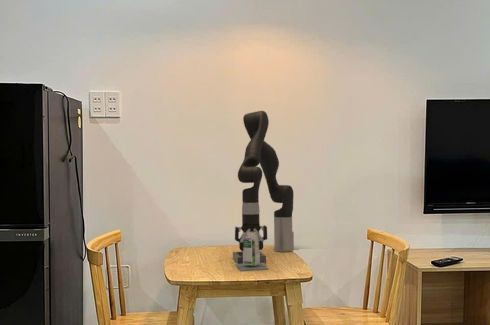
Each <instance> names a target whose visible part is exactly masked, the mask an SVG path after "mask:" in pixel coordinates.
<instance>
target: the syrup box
mask: <svg viewBox="0 0 490 325" xmlns="http://www.w3.org/2000/svg"><path fill="white" fill-rule="evenodd" d="M258 233H259V234H260V231H259V232H258ZM242 234H243V235H244V234H245V233H244V232H243V231H242ZM246 234H247V236H246V238H245V239H244V240H243V251H242V252H243V265H251V266H255V265H257V264H259V263H260V251H261V250H260V239H259V238H258V236H257V232H256V231H250V232H247V233H246ZM260 235H261V234H260Z"/></svg>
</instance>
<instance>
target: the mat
mask: <svg viewBox="0 0 490 325" xmlns="http://www.w3.org/2000/svg"><path fill="white" fill-rule="evenodd" d="M234 265H235V266H236V268H237V269H238V271H240V272H249V271H251V272H253V271H265V270H269V268H268V266H266V265H265V263H262V262H261V263H259V264H257V265H255V266H251V265H243V264H237V263H235V264H234Z"/></svg>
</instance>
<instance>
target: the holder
mask: <svg viewBox="0 0 490 325" xmlns="http://www.w3.org/2000/svg"><path fill="white" fill-rule="evenodd" d="M232 259H233V260H234V261H235V264H243V251H232ZM261 262H262V263H263V264H265V263H266V264H267V255H266V254H264V253H263V252H262V250H260V263H261Z"/></svg>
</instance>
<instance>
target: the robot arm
mask: <svg viewBox="0 0 490 325" xmlns="http://www.w3.org/2000/svg"><path fill="white" fill-rule="evenodd" d="M242 121H243V125H244V127H245V131H246V133H247V135H248V137H249V139H250V140H249V142H248V143H247V146H246V147H245V151H244V159H243V161H242V163H241V164H240V166H239V169H238V171H237V179H238V181H239V182H240V183H243V184H253V185H252V186H251V187H249V188H248V187H247V188H244V189H242V193H241V195H242V196H241V199H242V200H241V202H242V203H241V217H242V219H241V222H242V223H241V226H234V227H235V228H234V240H235V241H236V242H238V248H239V251H240V252H243V240H244V239H245V238H246V236H247V234H246V233H247V232H250V231H256V232H257V236H258V238H259V239H260V251H262V250H263V249H264V241H265V240H268V227H267V226H266V225H265V224H263V225H261V223H260V222H261V221H260V219H261V218H260V212H261V211H260V210H261V209H260V204H259V193H260V185H261V182H262V179H263V176H264V179H265V182H266V186H267V189H268V190H267V191H268V193H269V196H270V199H271V201H272V202H273V203H277V204H281V207H280V208H279V209H277V210H274V212H273V226H274V227H273V233H274V234H273V236H274V237H273V238H274V240H273V242H274V244H273V245H274V247H273V248H274V249H273V250H274V251H276V252H278V253H279V252H281V253H283V252H284V253H287V252H293V251H295V248H294V247H295V245H294V244H295V241H294V240H295V237H294V236H295V235H294V231H293V213H294V212H293V211H294V190H293V187H292V186H291V185H290V184H289V185H288V184H279V183H278V180H277V173H278V170H279V166H280V161H279V159H278V154H277V152H276V150H275V149H274V147H273V146H271V145H270V144H269V143H267V142H266V141H265V138H266V135H267V133H268V128H269V124H270V123H269V122H270V121H269V116H268V113H267V112H266V111H264V110H257V111H253V112H249V113H245V114H244V115H243V120H242ZM259 165H260V166H259ZM260 230H261V231H262V236H261V234H259V233H258V232H260ZM241 231H242V234H241V236H239V235H240V232H241ZM243 232H244V233H245V234H244V235H243Z"/></svg>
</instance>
